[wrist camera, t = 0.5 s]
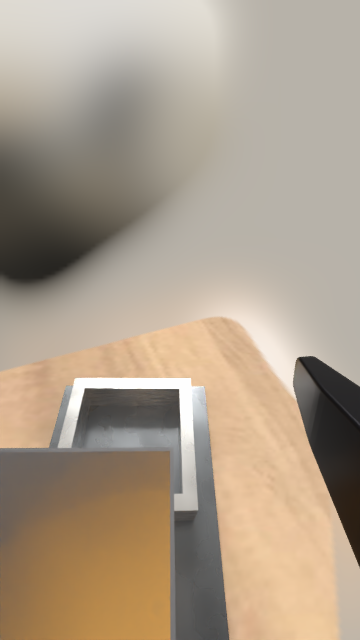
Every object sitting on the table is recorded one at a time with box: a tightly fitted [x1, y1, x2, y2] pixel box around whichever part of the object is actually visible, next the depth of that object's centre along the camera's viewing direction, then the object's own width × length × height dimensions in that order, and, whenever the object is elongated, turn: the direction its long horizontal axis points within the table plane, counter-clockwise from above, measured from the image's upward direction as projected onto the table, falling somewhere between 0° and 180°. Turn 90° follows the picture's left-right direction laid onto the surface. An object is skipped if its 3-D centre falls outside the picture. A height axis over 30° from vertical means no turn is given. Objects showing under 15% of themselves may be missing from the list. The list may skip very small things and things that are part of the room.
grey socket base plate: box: [49, 378, 229, 640], centre depth 17 cm, size 18×11×4 cm, turn 1°
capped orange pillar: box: [0, 447, 176, 640], centre depth 11 cm, size 5×5×12 cm
